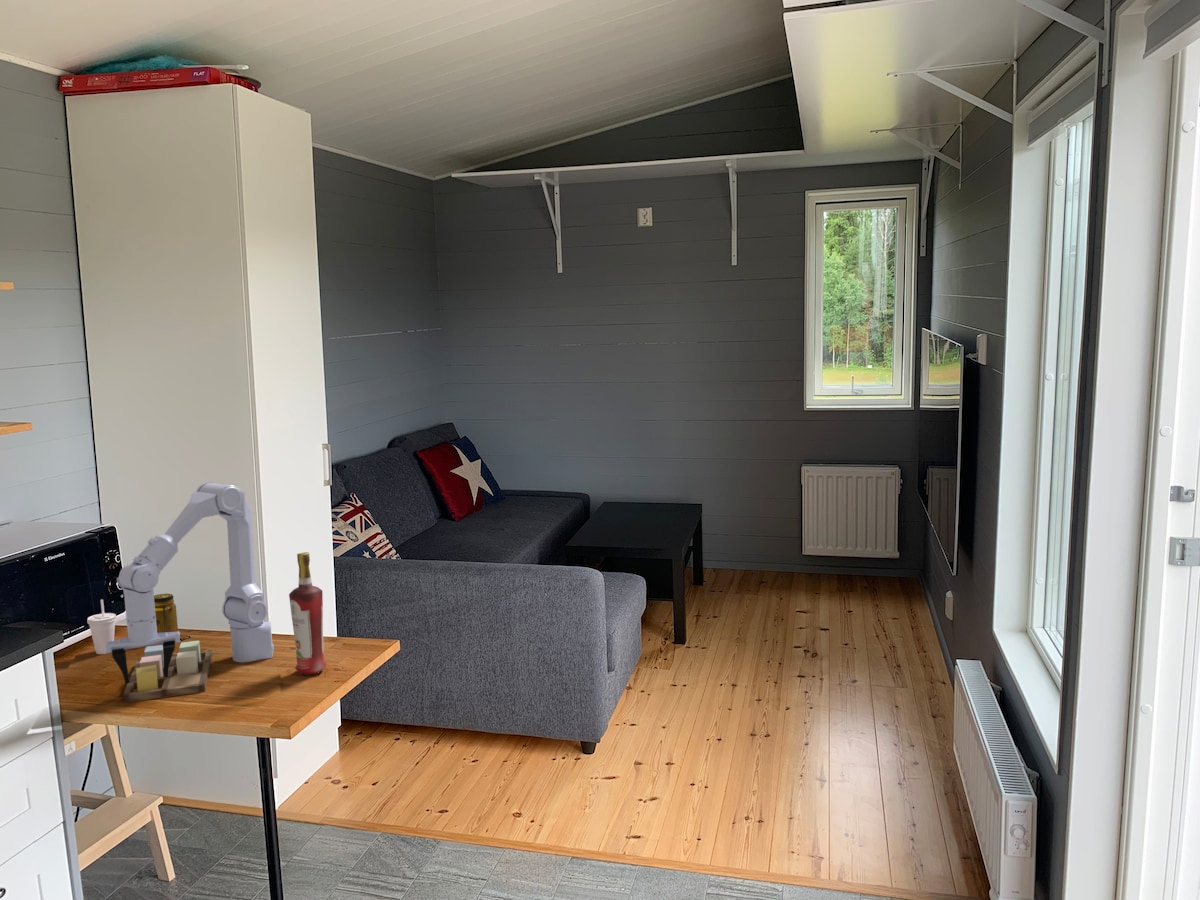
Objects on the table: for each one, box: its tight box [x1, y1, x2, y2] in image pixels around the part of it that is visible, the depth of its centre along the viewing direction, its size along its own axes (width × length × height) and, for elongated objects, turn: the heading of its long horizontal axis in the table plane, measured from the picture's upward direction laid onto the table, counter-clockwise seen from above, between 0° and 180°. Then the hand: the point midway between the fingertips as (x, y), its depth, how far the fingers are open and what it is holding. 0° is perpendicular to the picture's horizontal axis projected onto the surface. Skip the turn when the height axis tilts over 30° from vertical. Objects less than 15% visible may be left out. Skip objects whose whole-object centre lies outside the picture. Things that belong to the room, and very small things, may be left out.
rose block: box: [140, 655, 163, 678], centre depth 215 cm, size 4×4×5 cm
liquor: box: [288, 552, 327, 676], centre depth 218 cm, size 7×7×28 cm
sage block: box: [179, 640, 201, 662], centre depth 224 cm, size 4×4×5 cm
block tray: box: [122, 649, 213, 703], centre depth 216 cm, size 16×24×2 cm
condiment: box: [154, 593, 192, 641], centre depth 245 cm, size 7×8×12 cm
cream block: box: [176, 651, 198, 675], centre depth 217 cm, size 4×4×5 cm
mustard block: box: [136, 665, 158, 692], centre depth 208 cm, size 4×4×5 cm
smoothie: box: [86, 599, 117, 655], centre depth 234 cm, size 6×6×14 cm
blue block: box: [143, 644, 164, 666], centre depth 222 cm, size 4×4×5 cm
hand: (146, 678), depth 208 cm, fingers open, 7 cm apart
